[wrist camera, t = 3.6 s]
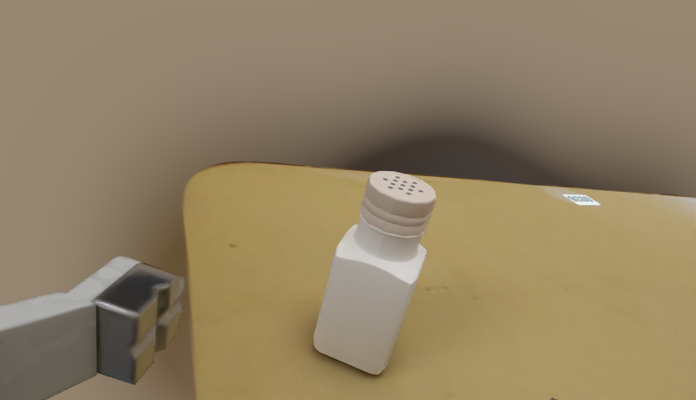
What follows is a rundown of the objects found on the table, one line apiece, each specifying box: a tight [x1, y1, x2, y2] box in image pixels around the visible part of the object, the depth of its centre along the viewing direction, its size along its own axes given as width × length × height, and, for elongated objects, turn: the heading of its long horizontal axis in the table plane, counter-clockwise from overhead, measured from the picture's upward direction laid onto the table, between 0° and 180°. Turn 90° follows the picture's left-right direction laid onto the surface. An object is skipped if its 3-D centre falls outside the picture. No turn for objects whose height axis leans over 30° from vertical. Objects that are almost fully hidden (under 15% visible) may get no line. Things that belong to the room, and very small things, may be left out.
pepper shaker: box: [314, 171, 437, 375], centre depth 24 cm, size 4×4×10 cm
